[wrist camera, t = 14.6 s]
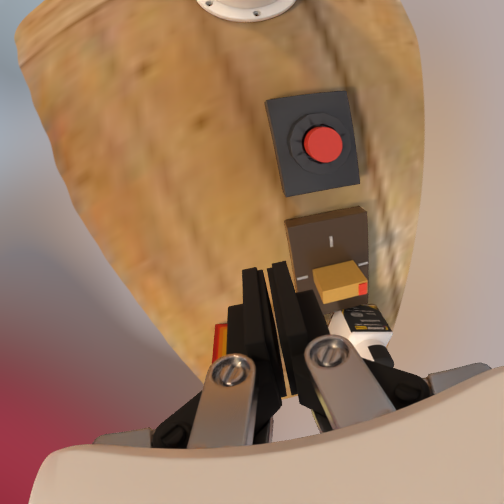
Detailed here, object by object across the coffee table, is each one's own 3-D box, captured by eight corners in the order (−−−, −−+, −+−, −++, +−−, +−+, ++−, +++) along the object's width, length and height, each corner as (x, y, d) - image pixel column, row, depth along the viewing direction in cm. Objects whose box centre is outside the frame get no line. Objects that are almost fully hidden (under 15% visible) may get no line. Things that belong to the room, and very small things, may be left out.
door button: (300, 129, 26) (304, 129, 24) (334, 124, 26) (339, 125, 24) (307, 162, 27) (311, 165, 26) (339, 157, 27) (345, 160, 26)
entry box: (264, 101, 28) (267, 98, 24) (339, 92, 27) (352, 89, 23) (283, 192, 32) (288, 202, 29) (353, 179, 32) (366, 187, 28)
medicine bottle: (376, 304, 41) (408, 357, 30) (360, 337, 44) (384, 390, 33) (337, 301, 40) (364, 359, 29) (323, 336, 43) (342, 394, 32)
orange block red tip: (313, 281, 35) (324, 305, 30) (312, 269, 34) (322, 292, 30) (353, 271, 35) (368, 294, 30) (353, 259, 34) (368, 281, 29)
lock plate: (284, 220, 34) (287, 228, 32) (359, 205, 33) (367, 212, 31) (298, 308, 40) (302, 320, 38) (361, 293, 40) (368, 303, 37)
